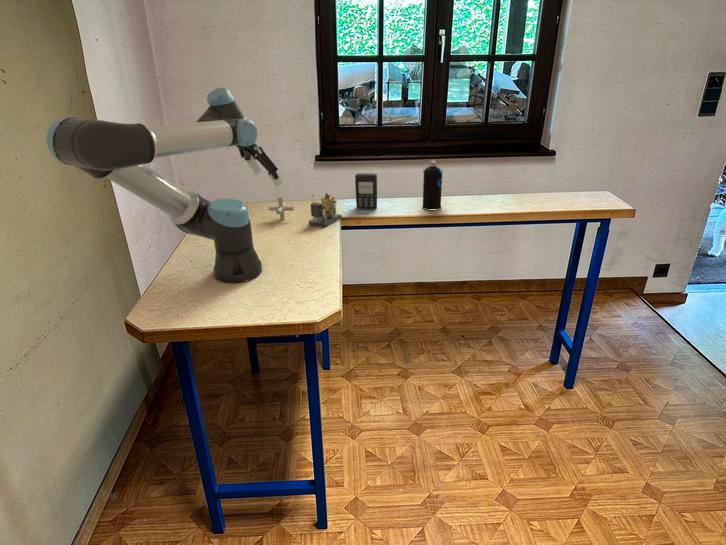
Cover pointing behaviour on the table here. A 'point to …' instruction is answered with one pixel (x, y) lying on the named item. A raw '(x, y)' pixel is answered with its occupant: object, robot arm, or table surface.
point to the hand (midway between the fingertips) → (268, 178)
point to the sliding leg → (329, 203)
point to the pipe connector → (281, 208)
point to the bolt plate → (322, 216)
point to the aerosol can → (432, 187)
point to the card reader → (366, 190)
